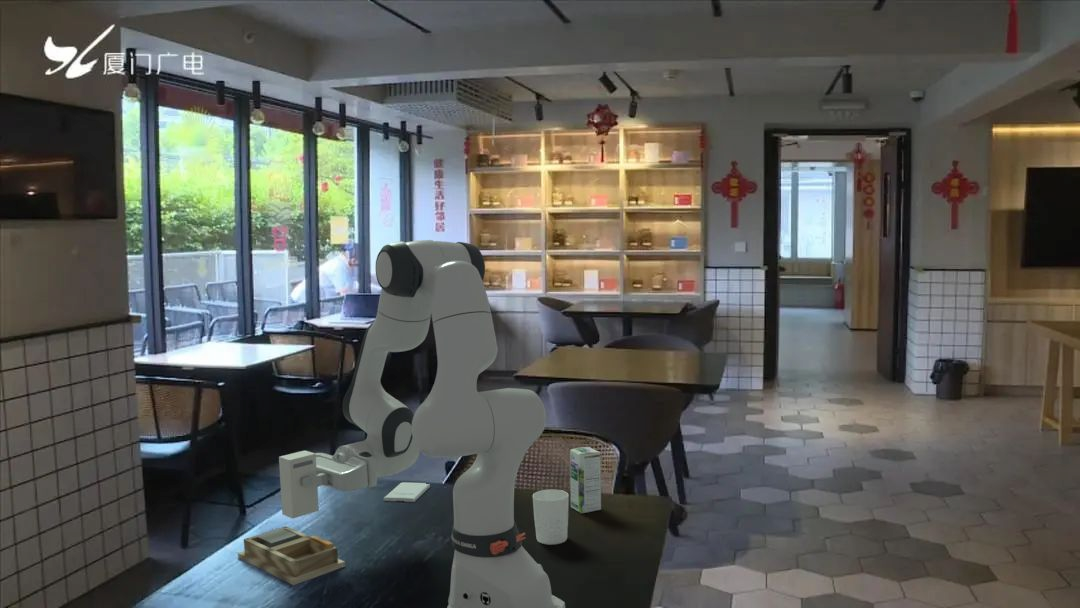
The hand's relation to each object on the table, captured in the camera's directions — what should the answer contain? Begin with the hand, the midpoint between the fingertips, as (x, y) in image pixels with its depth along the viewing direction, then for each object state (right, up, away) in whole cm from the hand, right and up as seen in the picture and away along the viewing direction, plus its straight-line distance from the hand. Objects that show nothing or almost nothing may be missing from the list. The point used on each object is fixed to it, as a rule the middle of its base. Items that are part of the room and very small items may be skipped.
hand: (294, 480), depth 175 cm
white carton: (+1, -7, +1) cm, 7 cm away
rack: (-2, -18, +6) cm, 19 cm away
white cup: (+52, -16, +15) cm, 57 cm away
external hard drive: (+15, -14, +49) cm, 54 cm away
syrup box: (+61, -14, +34) cm, 71 cm away
